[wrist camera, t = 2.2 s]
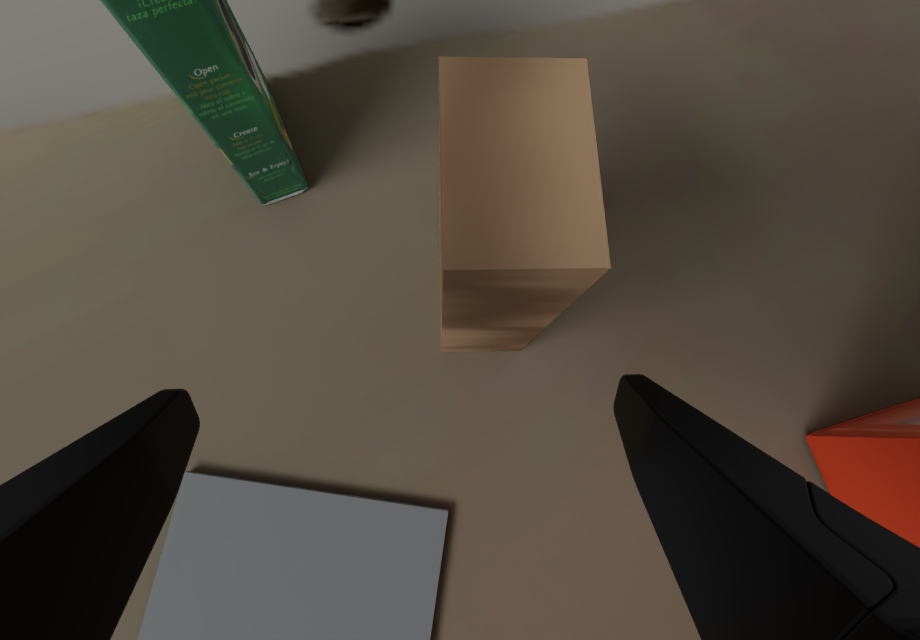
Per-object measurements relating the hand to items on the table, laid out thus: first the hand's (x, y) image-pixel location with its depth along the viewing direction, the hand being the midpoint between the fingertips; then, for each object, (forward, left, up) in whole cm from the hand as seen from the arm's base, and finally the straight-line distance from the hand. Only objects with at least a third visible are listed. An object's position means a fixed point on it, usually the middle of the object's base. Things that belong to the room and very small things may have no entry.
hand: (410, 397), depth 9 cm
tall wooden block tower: (-2, -6, -12) cm, 14 cm away
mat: (+4, +9, -12) cm, 16 cm away
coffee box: (+11, -13, -12) cm, 22 cm away
